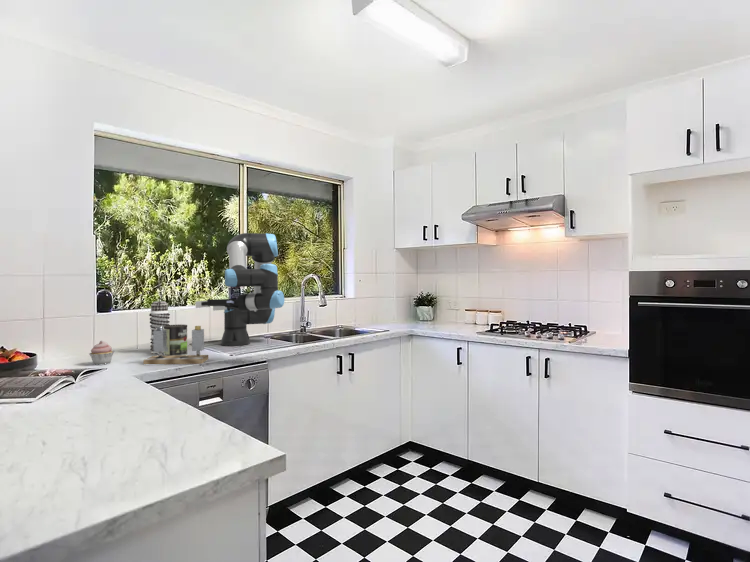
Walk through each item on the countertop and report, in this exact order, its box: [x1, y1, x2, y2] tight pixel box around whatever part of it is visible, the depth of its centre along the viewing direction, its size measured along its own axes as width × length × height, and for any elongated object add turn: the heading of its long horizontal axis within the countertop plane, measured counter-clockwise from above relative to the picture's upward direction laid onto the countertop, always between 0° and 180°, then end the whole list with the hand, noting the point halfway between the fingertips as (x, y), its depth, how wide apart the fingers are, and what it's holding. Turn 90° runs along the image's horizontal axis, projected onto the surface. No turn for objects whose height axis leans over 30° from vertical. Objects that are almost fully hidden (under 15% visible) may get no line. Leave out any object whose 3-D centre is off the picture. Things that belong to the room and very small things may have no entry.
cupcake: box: [88, 340, 115, 365], centre depth 192 cm, size 9×9×10 cm
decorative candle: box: [148, 300, 171, 354], centre depth 220 cm, size 9×9×25 cm
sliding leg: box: [191, 325, 205, 356], centre depth 195 cm, size 4×4×13 cm
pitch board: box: [142, 354, 209, 365], centre depth 195 cm, size 24×10×2 cm, turn 96°
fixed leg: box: [153, 326, 167, 358], centre depth 194 cm, size 4×4×14 cm
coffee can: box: [163, 324, 188, 356], centre depth 212 cm, size 10×10×14 cm
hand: (204, 306), depth 199 cm, fingers open, 13 cm apart
